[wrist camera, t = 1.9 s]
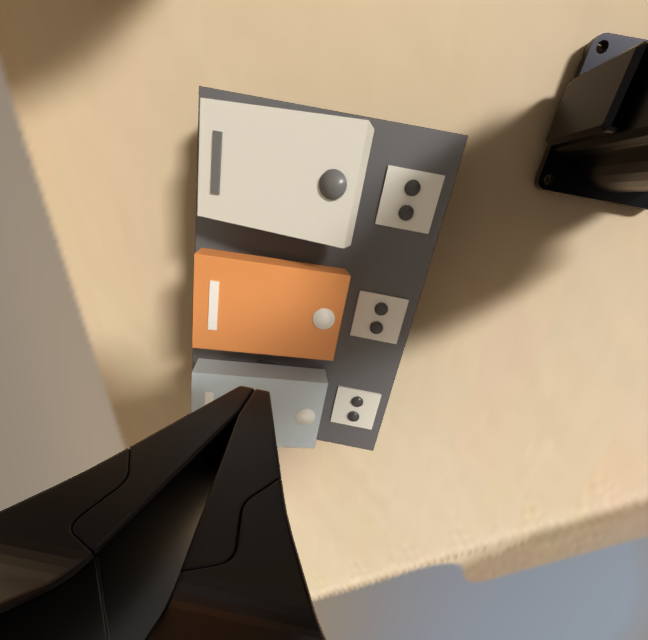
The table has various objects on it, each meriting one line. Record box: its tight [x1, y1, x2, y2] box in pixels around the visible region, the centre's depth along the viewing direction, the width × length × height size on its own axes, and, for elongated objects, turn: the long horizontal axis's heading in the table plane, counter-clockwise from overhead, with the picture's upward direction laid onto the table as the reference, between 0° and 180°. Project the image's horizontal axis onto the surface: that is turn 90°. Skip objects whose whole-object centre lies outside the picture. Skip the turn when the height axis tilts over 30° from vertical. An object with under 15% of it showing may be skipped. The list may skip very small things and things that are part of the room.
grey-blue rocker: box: [191, 358, 328, 448], centre depth 18 cm, size 7×5×2 cm, turn 80°
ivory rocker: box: [197, 98, 374, 248], centre depth 13 cm, size 7×5×2 cm, turn 80°
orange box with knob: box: [192, 248, 351, 361], centre depth 16 cm, size 7×5×2 cm, turn 80°
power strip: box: [193, 86, 468, 451], centre depth 18 cm, size 12×18×4 cm, turn 170°
